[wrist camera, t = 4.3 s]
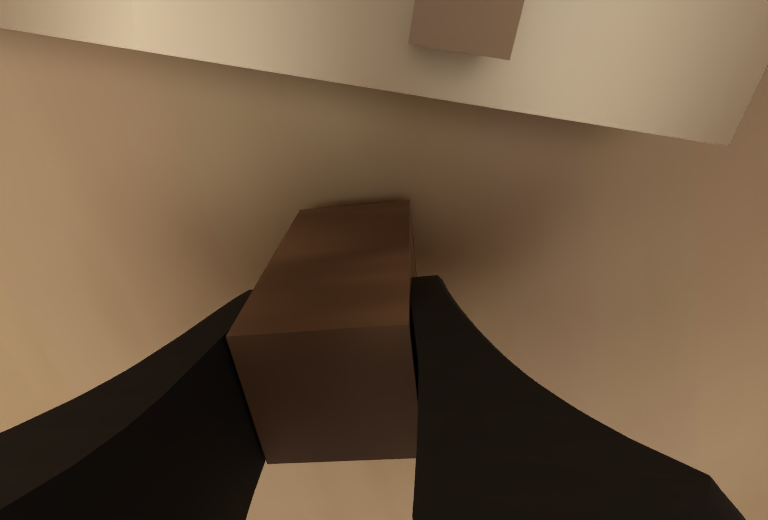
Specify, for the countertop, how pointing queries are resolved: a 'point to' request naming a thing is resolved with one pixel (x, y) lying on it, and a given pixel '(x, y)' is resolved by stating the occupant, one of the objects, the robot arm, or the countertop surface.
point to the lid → (465, 50)
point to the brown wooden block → (333, 339)
